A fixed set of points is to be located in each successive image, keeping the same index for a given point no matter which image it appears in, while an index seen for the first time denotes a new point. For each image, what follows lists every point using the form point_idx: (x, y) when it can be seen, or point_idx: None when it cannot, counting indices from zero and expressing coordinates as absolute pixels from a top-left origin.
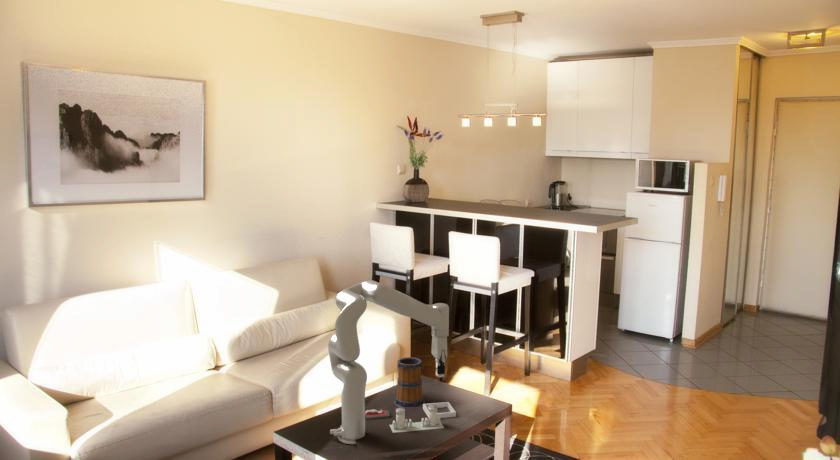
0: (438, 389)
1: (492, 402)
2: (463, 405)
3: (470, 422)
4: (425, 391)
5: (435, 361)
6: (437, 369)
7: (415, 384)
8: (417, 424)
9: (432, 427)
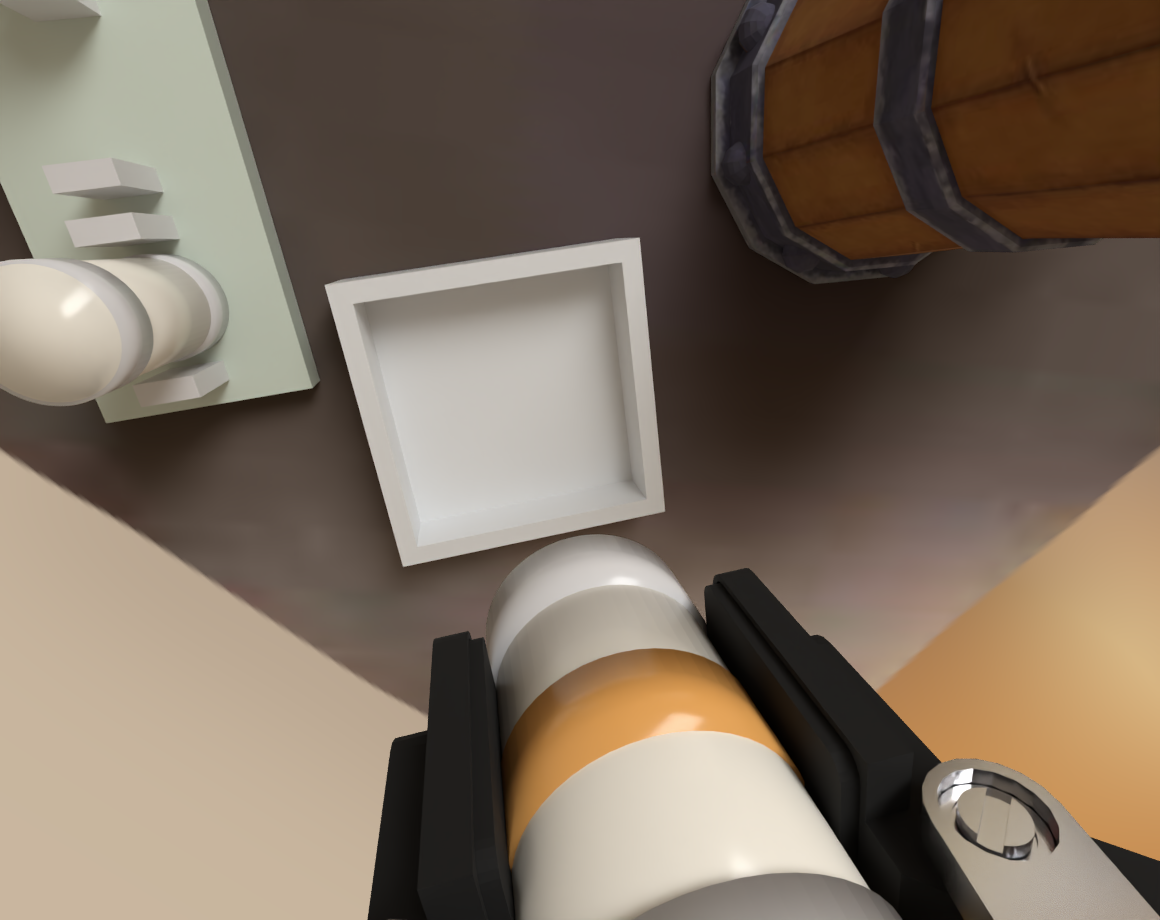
0: (1053, 429)
1: None
2: (703, 601)
3: (358, 639)
4: (1053, 313)
5: (925, 791)
6: (460, 725)
7: (912, 132)
8: (158, 116)
9: None
